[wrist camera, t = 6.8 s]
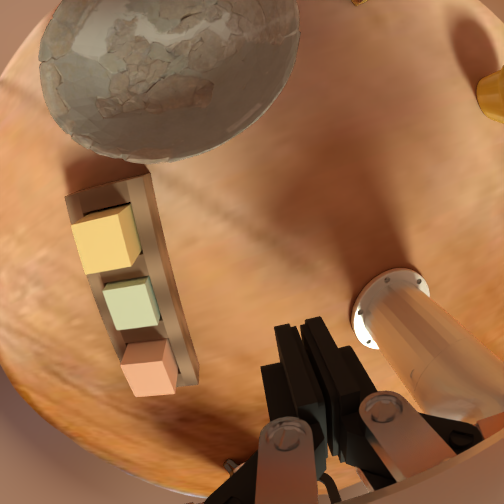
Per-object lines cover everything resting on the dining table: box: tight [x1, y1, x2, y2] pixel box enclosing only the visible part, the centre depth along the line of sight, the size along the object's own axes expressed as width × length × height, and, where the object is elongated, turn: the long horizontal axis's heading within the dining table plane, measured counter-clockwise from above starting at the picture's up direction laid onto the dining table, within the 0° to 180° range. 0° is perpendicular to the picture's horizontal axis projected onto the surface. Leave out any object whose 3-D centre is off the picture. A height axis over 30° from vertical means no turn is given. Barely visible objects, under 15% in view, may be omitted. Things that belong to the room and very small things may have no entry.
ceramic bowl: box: [39, 0, 301, 164], centre depth 25 cm, size 22×23×10 cm
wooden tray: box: [65, 173, 199, 387], centre depth 36 cm, size 26×9×4 cm, turn 9°
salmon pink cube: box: [120, 338, 178, 397], centre depth 35 cm, size 5×5×5 cm
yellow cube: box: [71, 204, 142, 275], centre depth 30 cm, size 5×5×5 cm
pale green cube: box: [103, 275, 161, 330], centre depth 35 cm, size 5×5×5 cm
